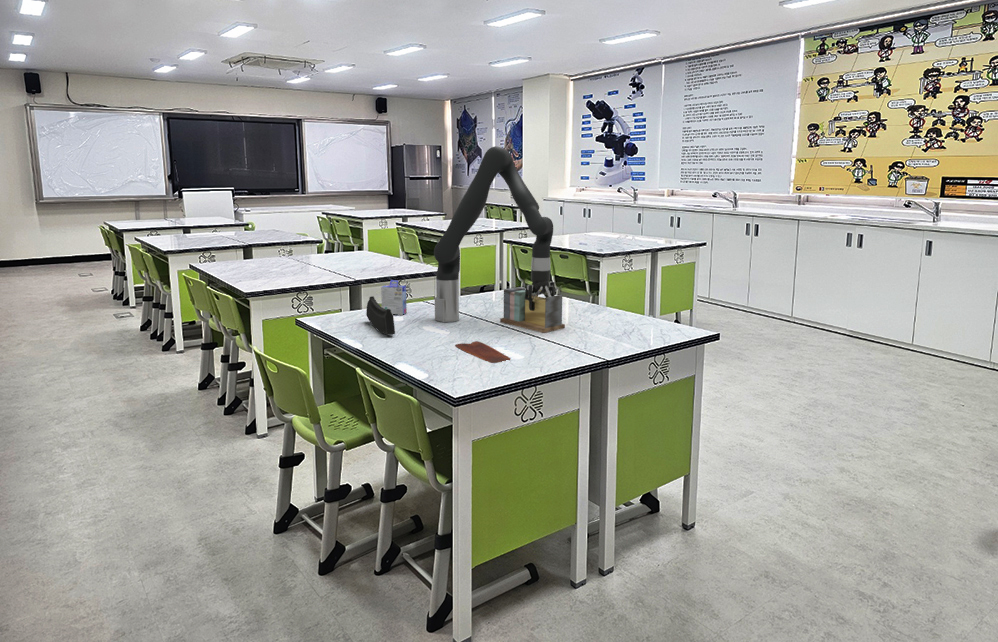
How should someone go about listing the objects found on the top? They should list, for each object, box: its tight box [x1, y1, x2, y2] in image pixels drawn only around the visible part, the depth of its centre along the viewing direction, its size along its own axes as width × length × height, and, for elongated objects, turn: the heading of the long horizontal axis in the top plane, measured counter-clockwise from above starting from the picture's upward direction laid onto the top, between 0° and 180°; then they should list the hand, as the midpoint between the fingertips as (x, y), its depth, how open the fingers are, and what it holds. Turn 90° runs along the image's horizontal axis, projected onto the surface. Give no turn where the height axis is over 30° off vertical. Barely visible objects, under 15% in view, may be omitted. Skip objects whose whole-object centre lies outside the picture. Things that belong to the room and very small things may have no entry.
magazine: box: [365, 296, 396, 336], centre depth 267 cm, size 17×3×30 cm
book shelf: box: [499, 286, 566, 333], centre depth 275 cm, size 12×25×14 cm, turn 42°
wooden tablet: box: [454, 340, 511, 364], centre depth 235 cm, size 27×10×2 cm, turn 29°
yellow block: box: [525, 296, 546, 326], centre depth 272 cm, size 5×12×10 cm, turn 41°
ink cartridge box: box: [380, 279, 408, 316], centre depth 295 cm, size 10×6×14 cm, turn 80°
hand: (539, 309), depth 271 cm, fingers open, 8 cm apart
